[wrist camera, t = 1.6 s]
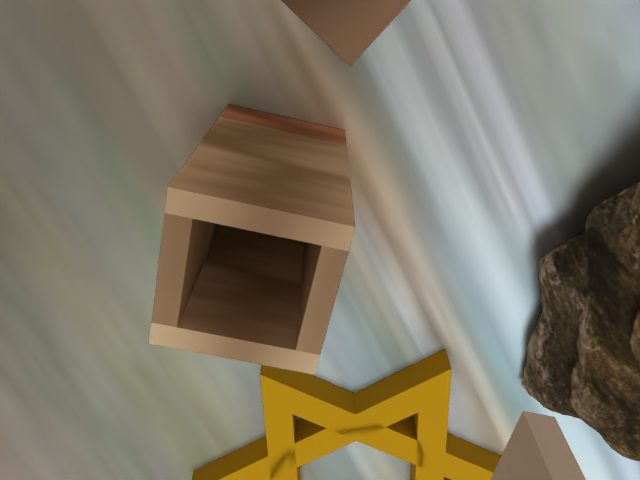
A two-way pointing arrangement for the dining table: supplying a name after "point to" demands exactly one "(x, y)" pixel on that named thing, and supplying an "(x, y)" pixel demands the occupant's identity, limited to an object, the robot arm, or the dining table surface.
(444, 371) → the star of david
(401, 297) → the dining table surface
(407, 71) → the dining table surface
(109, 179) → the dining table surface
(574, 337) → the rock
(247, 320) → the sleeve
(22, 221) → the dining table surface
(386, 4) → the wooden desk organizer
